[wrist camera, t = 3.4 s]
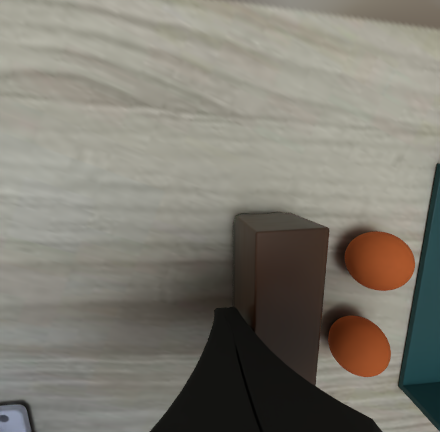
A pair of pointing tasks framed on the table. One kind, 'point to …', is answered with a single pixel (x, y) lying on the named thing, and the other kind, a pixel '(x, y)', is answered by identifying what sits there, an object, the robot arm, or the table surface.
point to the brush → (282, 284)
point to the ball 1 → (379, 261)
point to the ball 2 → (359, 346)
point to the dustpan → (426, 322)
